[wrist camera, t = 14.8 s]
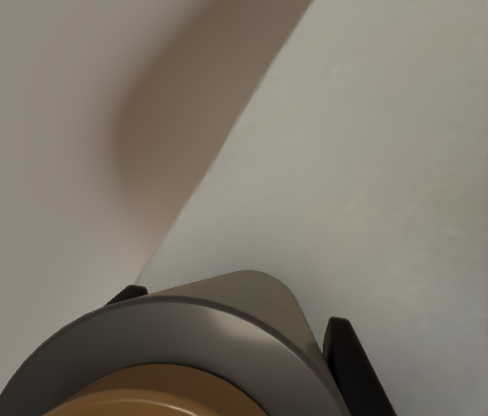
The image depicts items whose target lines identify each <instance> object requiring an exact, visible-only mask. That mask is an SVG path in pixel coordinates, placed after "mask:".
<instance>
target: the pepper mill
mask: <svg viewBox="0 0 488 416" xmlns="http://www.w3.org/2000/svg"><path fill="white" fill-rule="evenodd" d="M0 416H351V414H350V412H349V410H348V408H347V406H346V404H345V402H344V399H343V397H342V395H341V393H340V391H339V389H338V387H337V385H336V382H335V380H334V378H333V376H332V374H331V372H330V370H329V367H328V365H327V363H326V361H325V359H324V357H323V355H322V353H321V350H320V348H319V346H318V344H317V342H316V340H315V338H314V335H313V333H312V331H311V329H310V327H309V325H308V323H307V320H306V318H305V316H304V314H303V312H302V310H301V308H300V306H299V303H298V301H297V300H296V298H295V296H294V295H293V293H292V292H291V291H290V290H289V289H288V288H287V287H286V286H285V285H284V284H283V283H282V282H281V281H279V280H278V279H276V278H275V277H273V276H271V275H268V274H266V273H263V272H259V271H252V270H243V271H236V272H232V273H228V274H225V275H221V276H217V277H213V278H209V279H205V280H201V281H197V282H194V283H190V284H186V285H182V286H178V287H174V288H170V289H167V290H163V291H159V292H155V293H151V294H147V295H143V296H139V297H136V298H132V299H128V300H124V301H121V302H117V303H113V304H109V305H106V306H104V307H102V308H99V309H97V310H95V311H92V312H90V313H88V314H85V315H83V316H81V317H80V318H78V319H76V320H75V321H73V322H71V323H69V324H68V325H66V326H64V327H63V328H61V329H60V330H59V331H58V332H56V333H55V334H54V335H52V336H51V337H50V338H49V339H47V340H46V341H45V342H43V343H42V344H41V345H40V346H39V347H38V348H37V349H36V350H35V351H34V352H33V353H32V354H31V355H30V356H29V357H28V358H27V359H26V360H25V361H24V362H23V364H22V365H21V366H20V368H19V369H18V370H17V371H16V373H15V374H14V375H13V377H12V378H11V379H10V380H9V382H8V383H7V385H6V387H5V388H4V390H3V392H2V393H1V395H0Z"/></svg>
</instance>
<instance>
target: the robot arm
mask: <svg viewBox="0 0 488 416" xmlns="http://www.w3.org/2000/svg"><path fill="white" fill-rule="evenodd" d="M147 294H148V292H147V289H146V288H145V287H143V286H137V285H129V286H127V287H126V288H125V289H124V290H122V291H121V292H120V293H119V294H118V295H116V296H115V297H114V298H113V299H112V300H110V302H108V303H107V304H106V305H109V304H113V303H117V302H121V301H124V300H128V299H132V298H136V297H139V296H143V295H147ZM106 305H105V306H106ZM323 357H324V359H325V361H326V363H327V365H328V367H329V370H330V372H331V374H332V376H333V378H334V380H335V382H336V385H337V387H338V389H339V391H340V393H341V395H342V397H343V399H344V402H345V404H346V406H347V408H348V410H349V412H350V414H351V416H397V415H396V413H395V411H394V409H393V407H392V405H391V403H390V401H389V399H388V397H387V395H386V393H385V391H384V389H383V387H382V385H381V383H380V381H379V379H378V377H377V375H376V373H375V371H374V369H373V367H372V365H371V363H370V361H369V359H368V357H367V355H366V353H365V351H364V349H363V347H362V345H361V343H360V341H359V339H358V337H357V335H356V333H355V331H354V329H353V327H352V325H351V323H350V322H349V320H347V319H345V318H339V317H331V318H330V319H329V322H328V326H327V329H326V333H325V337H324V342H323Z"/></svg>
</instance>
